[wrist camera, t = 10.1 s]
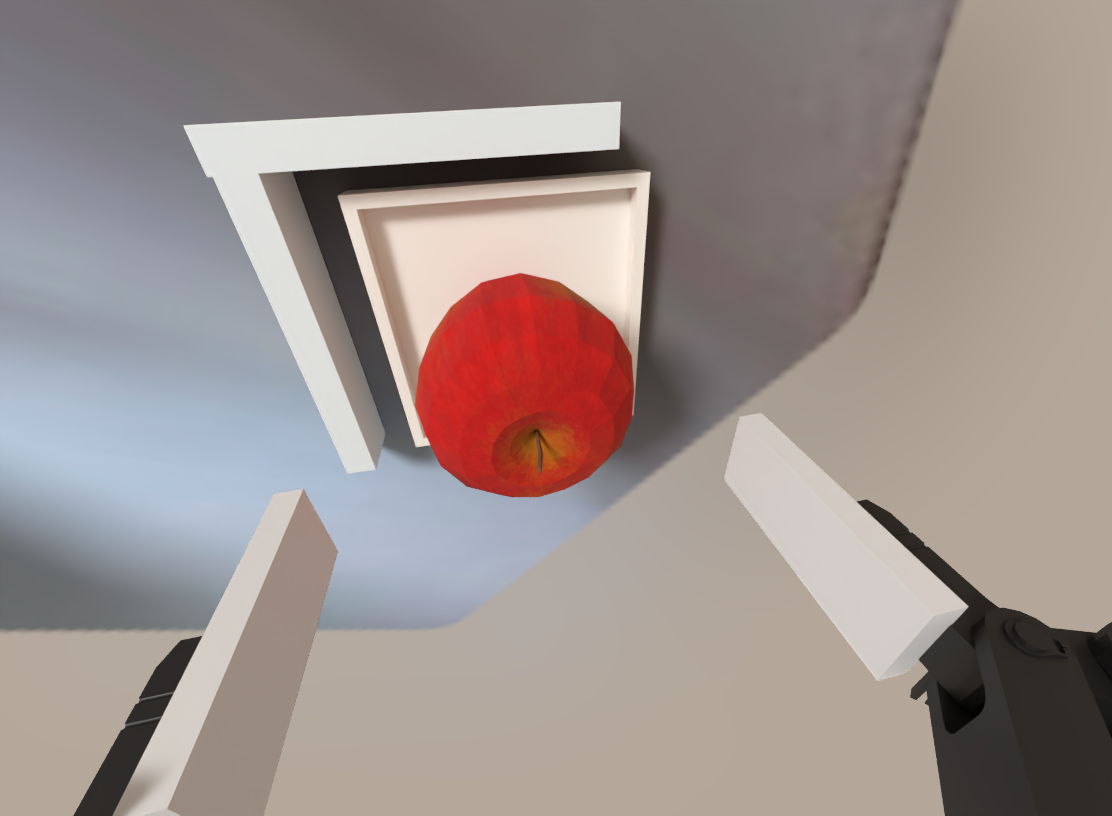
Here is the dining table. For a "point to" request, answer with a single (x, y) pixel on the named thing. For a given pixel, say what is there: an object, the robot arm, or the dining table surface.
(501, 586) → the dining table surface
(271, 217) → the pen walls
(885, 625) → the robot arm
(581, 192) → the dish
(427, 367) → the apple
